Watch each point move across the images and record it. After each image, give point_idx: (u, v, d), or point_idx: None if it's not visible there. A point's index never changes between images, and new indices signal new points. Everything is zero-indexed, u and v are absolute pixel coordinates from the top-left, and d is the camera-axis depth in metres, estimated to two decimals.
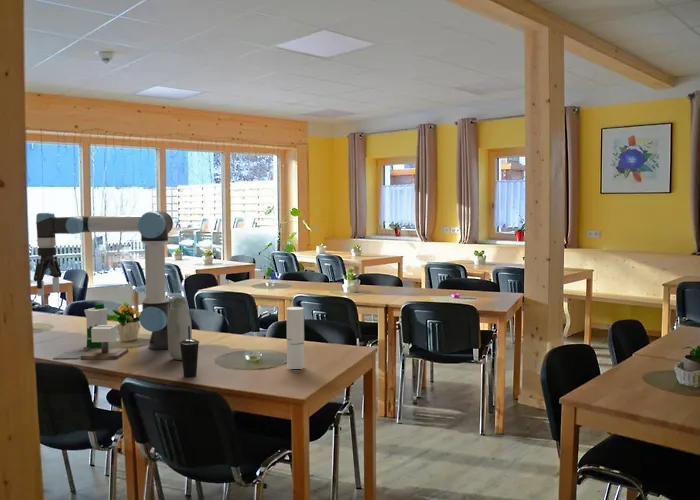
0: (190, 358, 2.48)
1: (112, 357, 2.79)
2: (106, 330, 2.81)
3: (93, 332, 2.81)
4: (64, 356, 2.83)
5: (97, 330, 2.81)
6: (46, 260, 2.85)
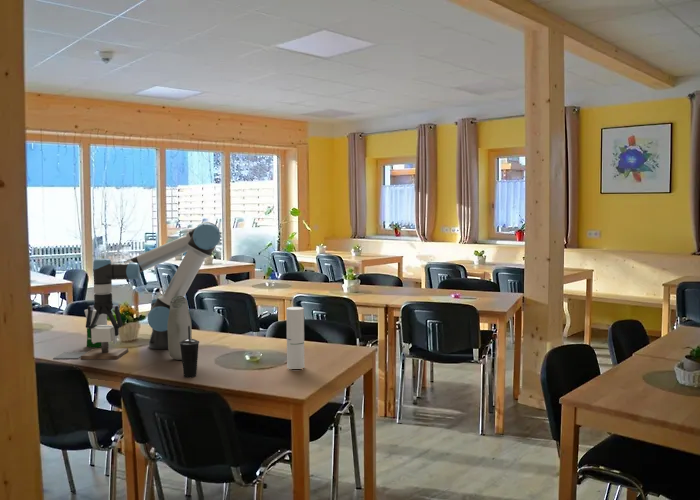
0: (190, 358, 2.48)
1: (112, 357, 2.79)
2: (106, 330, 2.81)
3: (93, 332, 2.81)
4: (64, 356, 2.83)
5: (97, 330, 2.81)
6: (96, 306, 2.84)
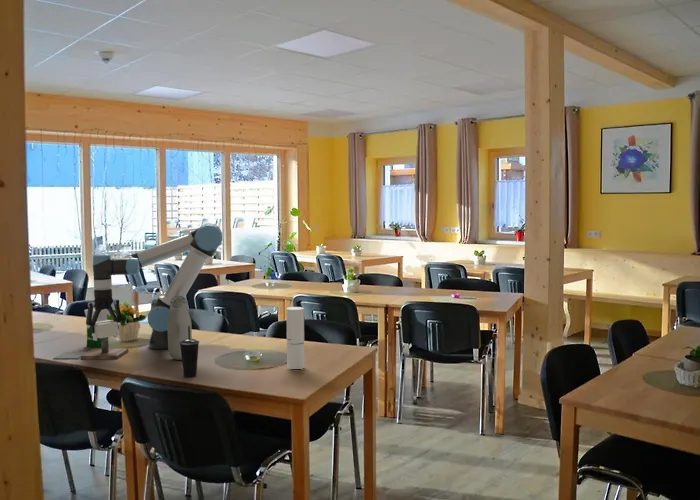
0: (190, 358, 2.48)
1: (112, 357, 2.79)
2: (114, 324, 2.84)
3: (101, 327, 2.80)
4: (64, 356, 2.83)
5: (105, 325, 2.81)
6: (98, 302, 2.82)
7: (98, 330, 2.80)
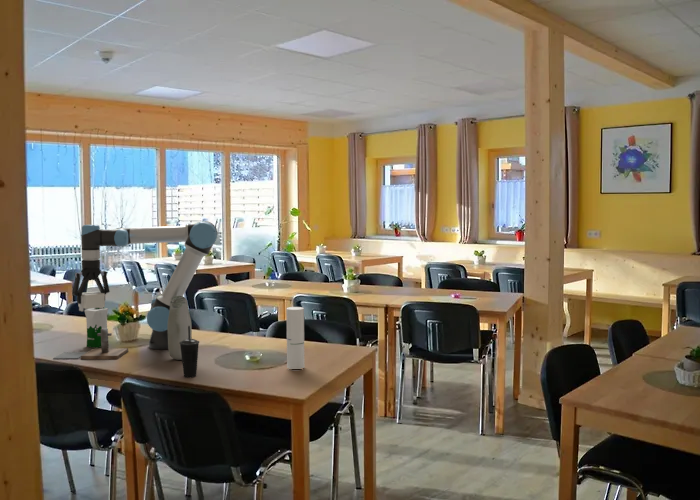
0: (190, 358, 2.48)
1: (112, 357, 2.79)
2: (101, 295, 2.83)
3: (88, 298, 2.79)
4: (64, 356, 2.83)
5: (92, 296, 2.80)
6: (85, 272, 2.81)
7: (84, 300, 2.79)
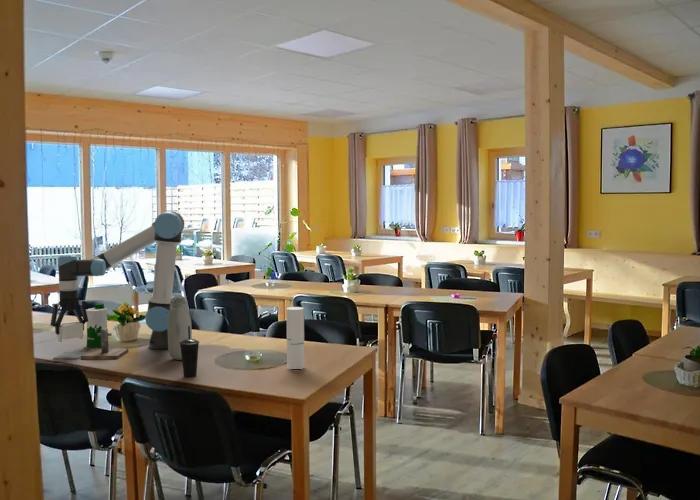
0: (190, 358, 2.48)
1: (112, 357, 2.79)
2: (79, 325, 2.83)
3: (66, 329, 2.79)
4: (64, 356, 2.83)
5: (70, 326, 2.80)
6: (63, 303, 2.81)
7: (63, 331, 2.79)
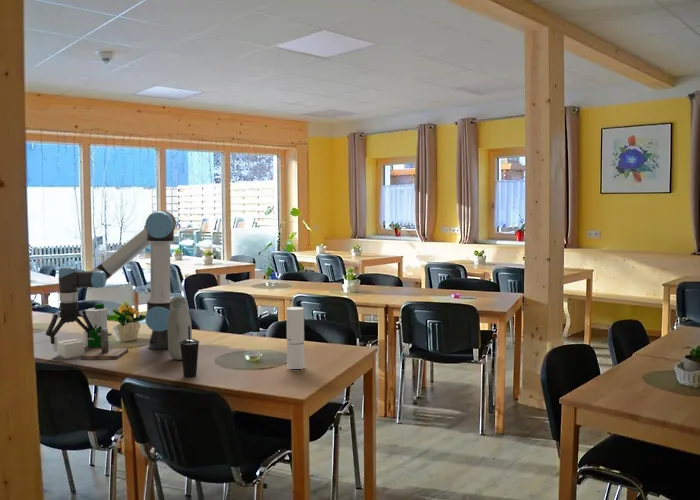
0: (190, 358, 2.48)
1: (112, 357, 2.79)
2: (80, 344, 2.84)
3: (67, 347, 2.80)
4: None
5: (71, 345, 2.81)
6: (64, 315, 2.81)
7: (63, 350, 2.80)
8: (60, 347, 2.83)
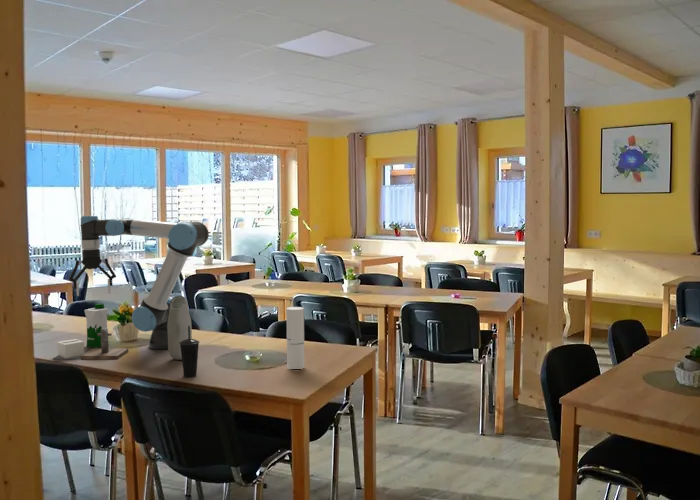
0: (190, 358, 2.48)
1: (112, 357, 2.79)
2: (80, 344, 2.84)
3: (67, 347, 2.80)
4: None
5: (71, 345, 2.81)
6: (85, 262, 2.93)
7: (63, 350, 2.80)
8: (60, 347, 2.83)
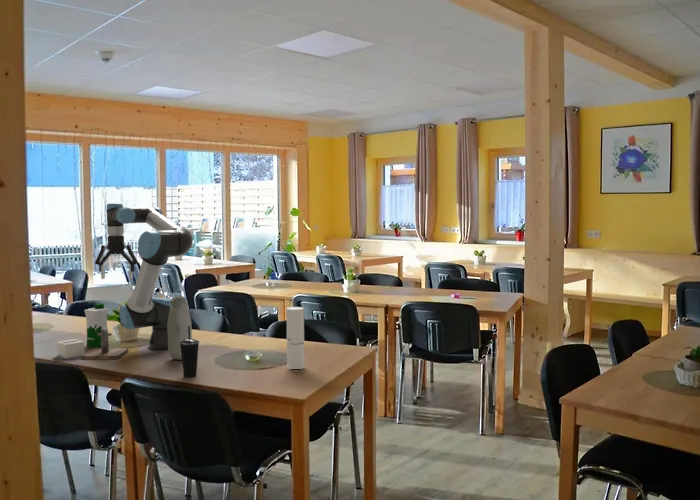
0: (190, 358, 2.48)
1: (112, 357, 2.79)
2: (80, 344, 2.84)
3: (67, 347, 2.80)
4: None
5: (71, 345, 2.81)
6: (109, 247, 3.08)
7: (63, 350, 2.80)
8: (60, 347, 2.83)
